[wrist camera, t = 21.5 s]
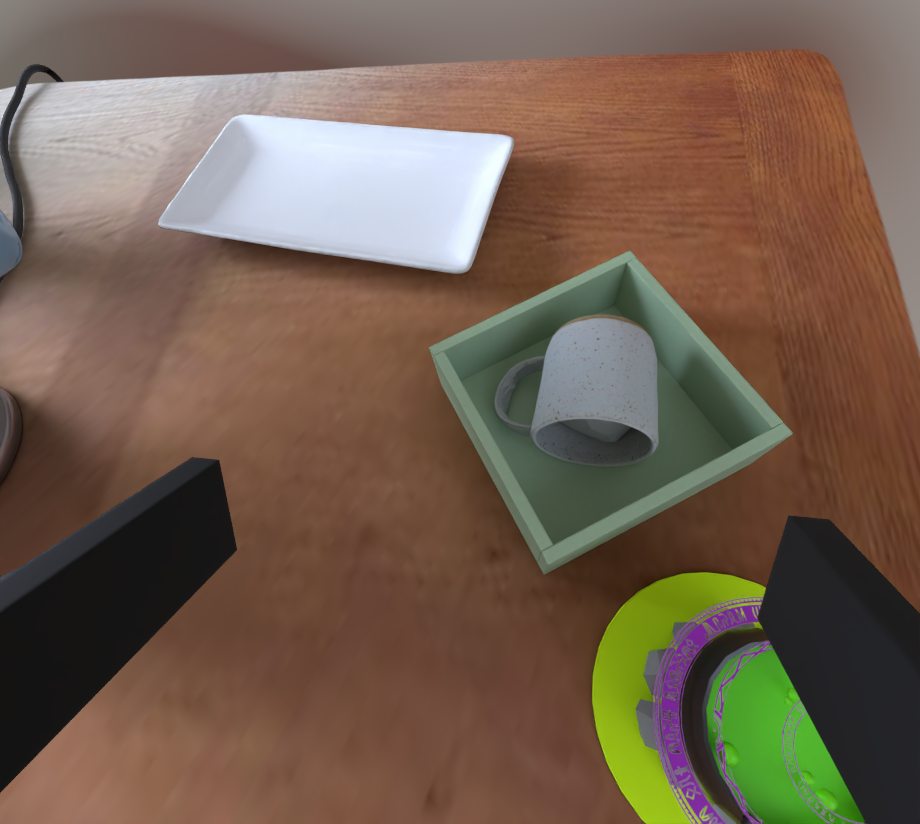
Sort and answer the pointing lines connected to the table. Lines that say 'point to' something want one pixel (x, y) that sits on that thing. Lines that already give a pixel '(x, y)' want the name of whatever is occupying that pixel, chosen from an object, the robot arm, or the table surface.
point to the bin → (603, 488)
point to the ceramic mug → (591, 393)
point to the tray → (346, 190)
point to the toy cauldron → (709, 712)
